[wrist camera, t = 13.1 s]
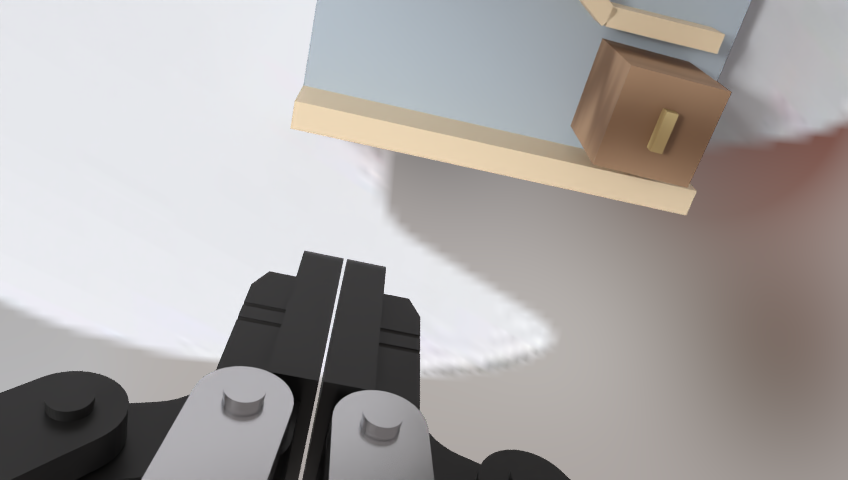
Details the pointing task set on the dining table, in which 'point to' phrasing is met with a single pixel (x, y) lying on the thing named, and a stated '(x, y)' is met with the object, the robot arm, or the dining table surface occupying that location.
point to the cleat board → (495, 80)
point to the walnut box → (647, 113)
